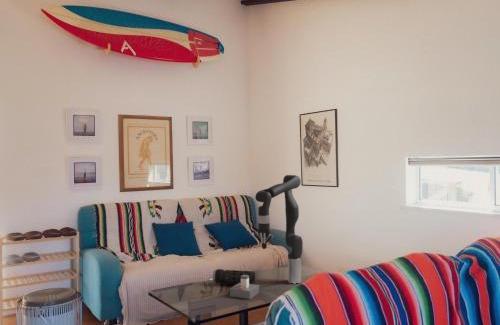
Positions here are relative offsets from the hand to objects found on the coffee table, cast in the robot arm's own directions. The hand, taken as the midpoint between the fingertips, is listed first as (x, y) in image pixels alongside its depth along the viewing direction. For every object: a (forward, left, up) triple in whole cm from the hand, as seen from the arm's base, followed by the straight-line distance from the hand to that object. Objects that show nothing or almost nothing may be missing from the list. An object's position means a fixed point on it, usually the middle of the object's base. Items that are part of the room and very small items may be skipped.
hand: (264, 248), depth 282 cm
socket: (+9, -10, -29) cm, 31 cm away
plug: (+9, -10, -27) cm, 30 cm away
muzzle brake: (-7, -26, -29) cm, 39 cm away
